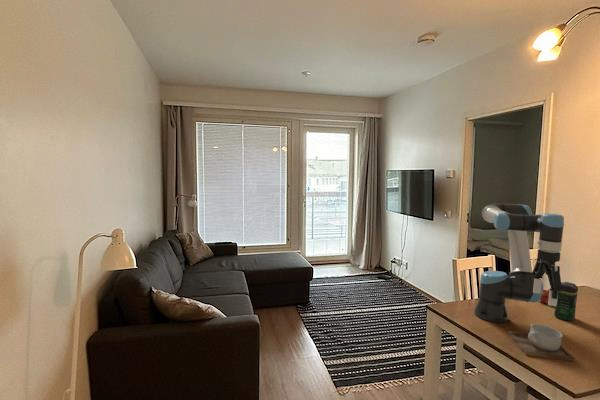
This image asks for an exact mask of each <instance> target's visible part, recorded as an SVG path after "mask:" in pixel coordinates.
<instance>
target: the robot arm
mask: <svg viewBox="0 0 600 400" xmlns="http://www.w3.org/2000/svg"><path fill="white" fill-rule="evenodd" d="M480 215H481V218H482V219H483V220H484V221H486V222H487V223H490V224H493V226H494V228H495V229H496V230H502V231H507V235H508V244H509V255H510V263H511V271H510V272H509V273H508V274H507V272H504V271H499V270H487V271H484V272H482V273H481V275H480V280H479V293H478V294H479V295H478V300H477V303H476V304H475V307H474V309H473V313H474V315H475V316H476V317H478V318H479V319H482V320H485V321H487V322H493V323H499V324H500V323H502V324H503V323H506V322H508V320H509V315H508V314H509V313H508V311H507V307H506V300H512V301H519V302H526V303H538V302H539V301H541V300H540V299H541V297H542V293H543V289H544V283H543V276H544V275H546V276H547V279H548V283H549V286H550V288H548V290H549V299H548V304H547V305H548V306H549V307H550V306H551V307H555V306H557V298H558V291H562V285H561V283H562V279H561V274H560V272H561V267H560V265H556V263H557V262H560V260H561V251H562V243H563V232H564V226H565V217H564V216H563V215H562V214H557V213H541V214H533V211H532V208H530V206H528V205H526V204H520V203H517V204H515V203H500V202H499V203H498V202H497V203H491V204H488V205H486V206H484V207H483V208H482V210H481V213H480ZM528 232H531V233H539V234H538V235H539V236H538V242H537V245H538V250H537V254H536V255H537V257H536V261H535V265H534V267H533V268H532V262H531V261H532V260H531V254H530V253H531V251H530V246H529V239H528Z"/></svg>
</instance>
